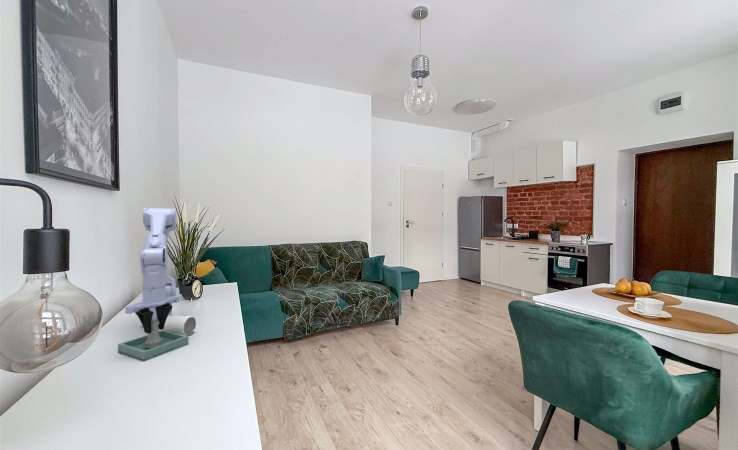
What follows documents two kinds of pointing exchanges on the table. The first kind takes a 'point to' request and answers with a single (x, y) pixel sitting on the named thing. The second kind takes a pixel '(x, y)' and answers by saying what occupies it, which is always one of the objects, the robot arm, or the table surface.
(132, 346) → the tray
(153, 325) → the rook chess piece
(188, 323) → the can
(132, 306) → the robot arm
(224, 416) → the table surface
